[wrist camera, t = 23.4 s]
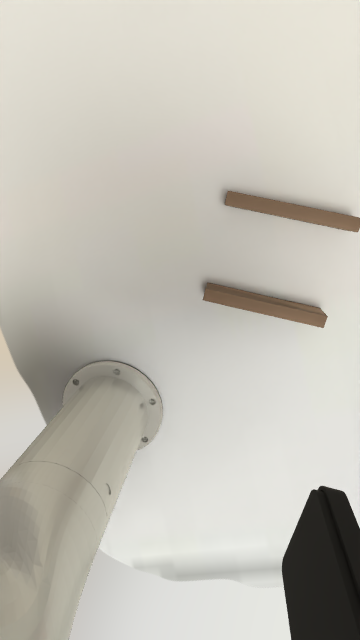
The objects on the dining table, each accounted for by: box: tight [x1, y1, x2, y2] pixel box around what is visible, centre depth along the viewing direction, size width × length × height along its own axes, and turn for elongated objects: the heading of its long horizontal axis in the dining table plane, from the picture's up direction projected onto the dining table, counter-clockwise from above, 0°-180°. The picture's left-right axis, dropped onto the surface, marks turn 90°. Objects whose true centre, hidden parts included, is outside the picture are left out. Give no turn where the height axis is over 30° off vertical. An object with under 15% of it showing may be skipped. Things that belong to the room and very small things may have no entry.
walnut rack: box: [203, 191, 360, 328], centre depth 33 cm, size 10×12×3 cm
